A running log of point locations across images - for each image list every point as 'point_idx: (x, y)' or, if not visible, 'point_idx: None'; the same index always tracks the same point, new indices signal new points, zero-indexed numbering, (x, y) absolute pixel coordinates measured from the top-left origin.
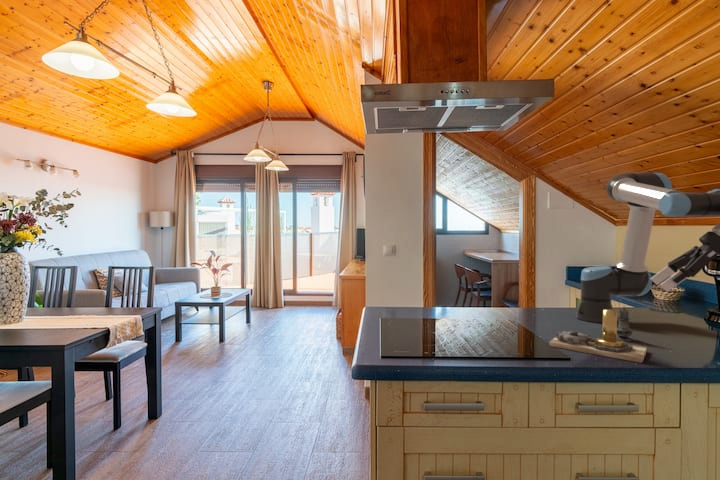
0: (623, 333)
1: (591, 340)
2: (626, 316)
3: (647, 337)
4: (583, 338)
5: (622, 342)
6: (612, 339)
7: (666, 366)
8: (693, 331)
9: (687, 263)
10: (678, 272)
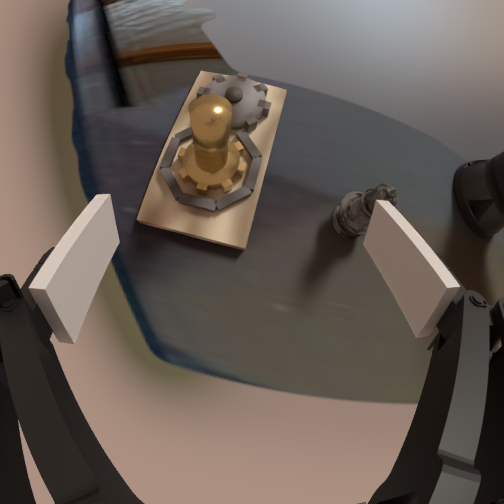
0: (339, 211)
1: None
2: (371, 204)
3: None
4: None
5: (206, 184)
6: (195, 159)
7: (134, 268)
8: None
9: (406, 442)
10: (35, 280)
